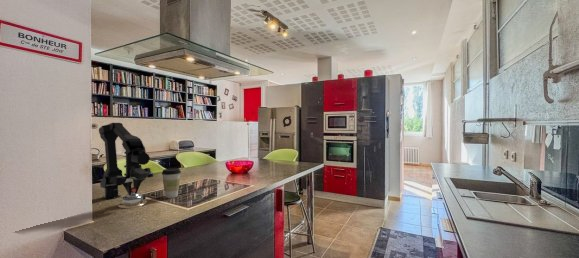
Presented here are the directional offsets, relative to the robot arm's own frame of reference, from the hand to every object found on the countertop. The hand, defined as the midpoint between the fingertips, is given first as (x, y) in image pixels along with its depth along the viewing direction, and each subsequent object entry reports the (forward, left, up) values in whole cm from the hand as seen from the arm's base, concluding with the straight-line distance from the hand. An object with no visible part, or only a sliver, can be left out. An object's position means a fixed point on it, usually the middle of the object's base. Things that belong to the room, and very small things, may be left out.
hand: (132, 194), depth 124 cm
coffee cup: (+6, +18, -5) cm, 20 cm away
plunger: (0, 0, -1) cm, 1 cm away
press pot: (0, 0, -5) cm, 5 cm away
